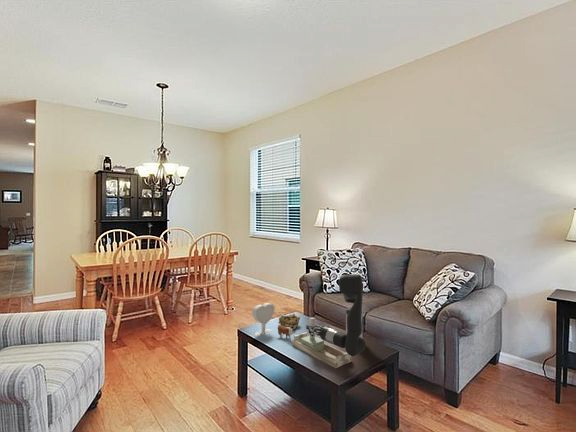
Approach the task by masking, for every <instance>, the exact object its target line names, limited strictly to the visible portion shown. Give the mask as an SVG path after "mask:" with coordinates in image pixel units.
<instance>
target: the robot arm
mask: <svg viewBox="0 0 576 432" xmlns="http://www.w3.org/2000/svg"><path fill="white" fill-rule="evenodd" d="M363 286H364V285H363V279H362V275H360V274H358V273H357V274H355V273H354V274H342V275H341V276H340V277H339V279H338V288H339V291H340V293H341V294H342V295H343V297H344V301H345V302H346V303H349V304H353V305H352V306H350V307H347V308H346V309H345V310H346V311H345V333H344V332H342V331H339V330H337V329H335V328H333V327H330V326H329V325H324V324H315V327H311V326H310V324H306V325H305V326H306V327H305V328H306V330H308V335H309V336H310V335H311V336H314V335H315V336H319V337H320V339H322V340H324V342H325V343H326V342H327V344H330V345H334V346H337V347H339V348H341V349H345V351H346V352H347V353H348V354H349V355H350V356H352V357H355V356H357V355H358V354H361V353H362V352H363V351H365V350H366V347H367V343H366V341H365V340H364V338H363V329H364V327H363V295H364V293H363V291H364V289H363V288H364V287H363ZM312 329H313V330H312ZM346 352H345V353H346Z"/></svg>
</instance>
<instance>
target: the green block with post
mask: <svg viewBox="0 0 576 432" xmlns="http://www.w3.org/2000/svg"><path fill="white" fill-rule="evenodd" d="M315 325H316V317H310V318H309V326H311V327H315ZM312 330H313V329H312ZM301 343H302V344H304V345H306V346H308V347H310V348H312V349H314V350H316V351H321V350H323V349H324V343H325V341H324V340H322V339H321V337H320V338H319V337H317V336H316V335H314V336H311V335H310V334H309V336H307V337H304V338H301Z"/></svg>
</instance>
